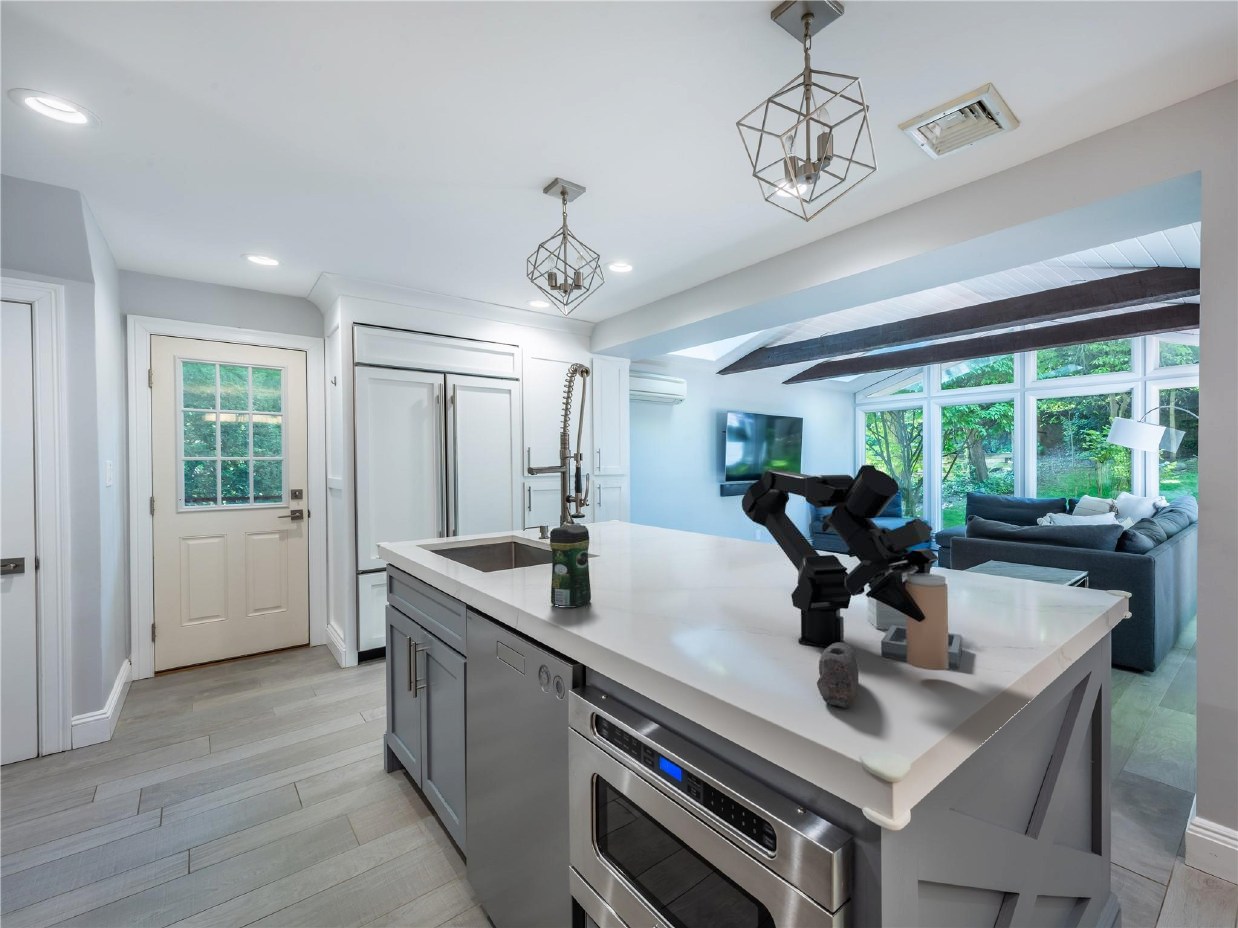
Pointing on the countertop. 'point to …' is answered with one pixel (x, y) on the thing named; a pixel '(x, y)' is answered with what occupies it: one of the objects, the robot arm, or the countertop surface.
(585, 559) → the coffee jar
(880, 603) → the supplement box
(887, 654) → the tray
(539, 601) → the countertop surface
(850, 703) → the perforated stone tool
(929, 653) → the shaker
